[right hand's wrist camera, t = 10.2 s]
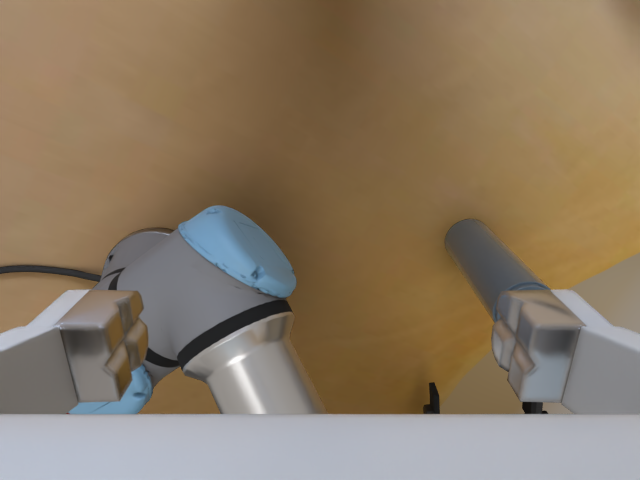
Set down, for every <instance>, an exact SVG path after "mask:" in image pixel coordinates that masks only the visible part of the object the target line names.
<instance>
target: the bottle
mask: <svg viewBox="0 0 640 480" xmlns="http://www.w3.org/2000/svg"><path fill="white" fill-rule="evenodd" d="M445 248H446V250H447V252H448V254H449V255H450V257H451V258H452V260H453V261H454V263H455V264H456V266H457V267H458V269H459V270H460V272H461V273H462V275H463V276H464V278H465V279H466V281H467V282H468V284H469V285H470V287H471V288H472V290H473V291H474V293H475V294H476V296H477V297H478V299H479V300H480V302H481V303H482V305H483V306H484V308H485V309H486V311H487V312H488V314H489V315H490V317H491V318H492V320H493V321H494V323H496V322H497V321H498V320H499V319H500V318H501V316H500V314H499V313H498V311H497V309H496V305H497V299H498V297H499V295H500V292H502V291H512V290H551V289H550V288H549V287H548V286H547V285H546V284H545V283H544V282H543V281H542V280H541V279H540V278H539V277H538V276H537V275H536V274H534V273H533V272H532V271H531V270H530V269H529V268H528V267H527V266H526V265H525V264H524V263H523V262H522V261H521V260H520V259H519V258H518V257H517V256H516V255H515V254H514V253H513V252H512V251H511V250H510V249H509V248H508V247H507V246H506V245H505V244H504V243H503V242H502V241H501V240H500V239H499V238H498V237H497V236H496V235H495V234H494V233H493V232H492V231H491V230H490V229H489V228H488V227H487V226H486V225H485V224H484V223H482V222H481V221H478V220H475V219H466V220H462V221H460V222H458V223H456V224H455V225H453V226H452V227H451V228H450V230H449V231H448V233H447V235H446V238H445Z"/></svg>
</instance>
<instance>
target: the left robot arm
mask: <svg viewBox="0 0 640 480" xmlns="http://www.w3.org/2000/svg"><path fill="white" fill-rule="evenodd" d="M9 272H42V273H52V274H60V275H68V276H74V277H79V278H83V279H87V280H92V281H97V282H99V283H98V284H97V285H96V286H95V287H94V288H93V289H92V290H131V291H138V292H139V293H140V294H141V296H142V301H143V305H144V309H143V311H142V313H141V314H140V316H139V318H140V319H141V320H142V321H143V322H144V323H145V324H146V325H147V329H148V335H149V336H148V349H147V354H146V358H145V360H144V361H143V363H142V365H141V367H139V368H137V369H136V370H134V371H132V372H131V373H132V379H133V380H132V382H131V384H130V385H129V387H128V389H127V390H126V392H125V394H124V395H123V397H122V399H121V400H120V402H84V403H78V405H77V406H76V407H74V408H73V409H72V410H70V411H69V412H68V413H70V414H137V413H138V412H139V411H140V410H141V409H142V408H143V406H144V405H145V404H146V403H147V402H148V401H149V400H150V398H151V396H152V393H153V388H154V387H155V385H156V384H157V383H158V382H159V381H160V380H161V379H162V378H163V377H165V376H166V375H168V374H169V373H171V372H172V371H174V370H175V369H177V368H178V367H181V369H182V371H183V373H184V374H185V376H188V377H192V378H195V379H198V380H201V381H203V382H205V383H206V384H208V386H209V388H210V391H211V393H212V395H213V397H214V400H215V402H216V404H217V406H218V408H219V411H220V413H221V414H328V412H327V410H326V408H325V406H324V404H323V403H322V401H321V399H320V397H319V395H318V393H317V391H316V389H315V387H314V385H313V383H312V381H311V380H310V378H309V376H308V374H307V372H306V370H305V368H304V366H303V364H302V362H301V360H300V359H299V357H298V355H297V353H296V351H295V349H294V347H293V345H292V343H291V341H290V333H291V329H292V326H293V323H294V319H295V316H294V313H293V312H292V310H291V308H290V306H289V304H288V302H287V300H286V297H288V296H290V295H291V294H292V292H293V290H294V289H295V288H296V284H297V281H296V277H295V276H294V271H293V268H292V266H291V264H290V263H289V261H288V259H287V258H286V256H285V255H284V254H283V252H282V251H281V249H280V248H279V247H278V246H277V245H276V243H275V242H274V241H273V240H272V239H271V238H270V237H269V236H268V235H267V234H266V233H265V232H264V231H263V230H262V229H261V228H260V227H259V226H258V225H257V224H256V223H254V222H253V221H252V220H251V219H249V218H248V217H247V216H245V215H244V214H242V213H240V212H239V211H237V210H235V209H232V208H229V207H226V206H219V205H218V206H211V207H208V208H206V209H205V210H203V211H202V212H200V213H199V214H197V215H196V216H194V217H193V218H192V219H190V220H189V221H184V222H182V223H181V224H180V225H179V226H178V228H177V229H176V230H175V231H174V230H170V229H165V228H147V229H142V230H139V231H136V232H133V233H131V234H129V235H128V236H126V237H125V238H124V239H122V240H121V241H120V242H119V243H118V244H117V245H116V246H115V247H114V248H113V249H112V250H111V252H110V253H109V255H108V257H107V259H106V261H105V265H104V268H103V272H102V276H100V275H95V274H90V273H85V272H81V271H77V270H71V269H63V268H55V267H46V266H7V267H0V274H1V273H9ZM429 390H430V404H428V405H424V407H423V412H424V414H440V410H439V394H438V391H437V389H436V386H435V383H434V382H433V383H429ZM542 406H543V403H542V402H523V405H522V408H523V410H524V412H525V414H548V413H547V411H542Z"/></svg>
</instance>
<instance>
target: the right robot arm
mask: <svg viewBox="0 0 640 480" xmlns="http://www.w3.org/2000/svg"><path fill="white" fill-rule="evenodd" d="M143 309H144V305H143V301H142V296H141V294H140V293H139V292H138V291H131V290H92V289H84V290H67V291H65V292H64V293H63V294H62V295H61V296H60V297H59V298H58V299H56V300H55V301H54V302H53V303H52V304H51V305H50V306H49V307H47V308H46V309H45V310H44V311H43V312H42V313H41V314H39V315H38V316H37V317H36V318H35V319H34V320H33V321H32V322H30V323H29V324H28V325H27V326H26V327H16V328H14V329H11V330H9V331H6V332H3V333H1V334H0V480H640V334H639V333H637V332H634V331H631V330H629V329H626V328H624V327H614V326H613V325H612V324H611V323H610V322H608V321H607V320H606V319H605V318H604V317H603V316H602V315H601V314H599V313H598V312H597V311H596V310H595V309H594V308H593V307H592V306H590V305H589V304H588V303H587V302H586V301H585V300H584V299H583V298H581V297H580V296H579V295H578V294H577V293H576V292H575V291H573V290H569V289H562V290H512V291H502V292H500V295H499V297H498V299H497V305H496V309H497V311H498V313H499V314H500V316H501V318H500V319H499V320H498V321H497V322H496V323H495V324H494V325H493V329H492V337H491V341H492V351H493V354H494V357H495V360H496V361H497V363H498V365H499V366H500V367H501V368H503V369H504V370H506V371H508V372H509V373H508V379H507V380H508V382H509V384H510V385H511V387H512V389H513V390H514V392H515V394H516V395H517V397H518V398H519V400H520V401H521V402H556V403H562V405H563V406H564V407H566V408H567V409H568V410H570V411H571V412H573V413H574V414H66V413H68V412H69V411H70V410H72V409H73V408H74V407H76V406H77V405H78V403H84V402H120V400H121V399H122V397H123V395H124V394H125V392H126V390H127V389H128V387H129V385H130V384H131V382H132V380H133V379H132V373H131V372H132V371H134V370H136V369H137V368H139V367H141V365H142V363H143V361H144V360H145V358H146V354H147V349H148V336H149V335H148V329H147V325H146V324H145V323H144V322H143V321H142V320H141V319H140V318H139V316H140V314H141V313H142V311H143Z"/></svg>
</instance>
